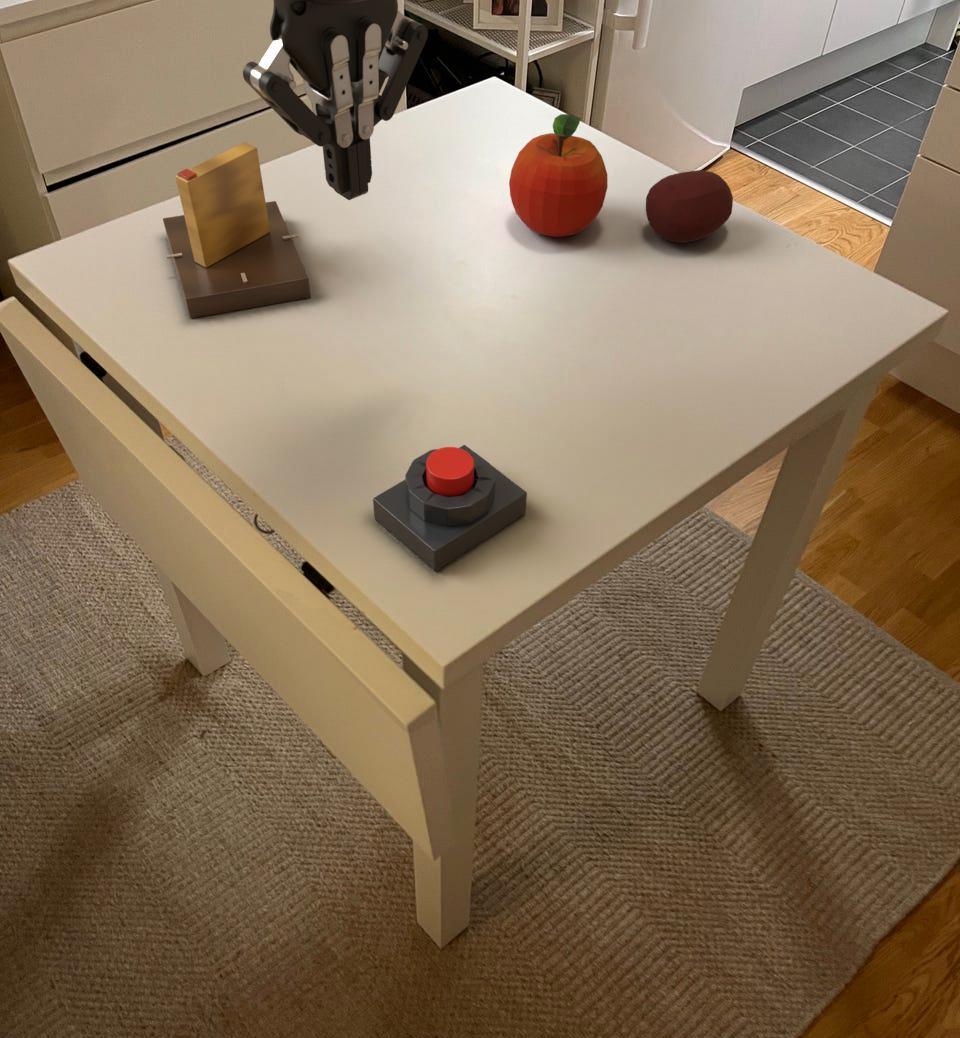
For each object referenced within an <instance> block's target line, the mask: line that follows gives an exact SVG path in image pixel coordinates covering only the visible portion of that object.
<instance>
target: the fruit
mask: <svg viewBox="0 0 960 1038" xmlns="http://www.w3.org/2000/svg"><path fill="white" fill-rule="evenodd" d="M580 122H581V117H579V116H576V115H574V114H573V113H560V114H559V115H557V116H556V117H554V120H553V123H552V130H553V132H549V133H545V134H544V133H543V134H540V135H538V136H535V137H532V138H531V139H530V140H529V141H528V142H527V143H526V144H525V145H524V146H523V148H521V150H519V152H518V153H517V155H516V158H515V160H514V162H513V164H512V168H511V170H510V176H509V182H508V186H509V195H510V200H511V203H512V206H513V210H514V212H515V214H516V215H517V217H518V218H519V219H520V220H521V222H522V223H523V224H524V225H525V226H526V227H527V228H528V229H530V230H531V231H533V232H535V233H538V234H540V235H543V236H547V237H554V238H560V237H567V236H571V235H575V234H578V233H580V232H582V231H583V230H585V229H586V228H587V227H588V226H590V224H592V222H593V221H595V219H596V218H597V217H598V216H599V214H600V212H601V211H602V208H603V207H604V204H605V203H604V202H605V199H606V196H607V190H608V183H609V182H608V171H607V168H606V163H605V161H604V159H603V156H602V154H601V153H600V151H599V149H598V148H597V147H596V145H595V144H593V142H591V140H588V139H586V138H583V137H580V136H575V135H574V133H575V132H576V131H577V129H578V127H579V125H580Z"/></svg>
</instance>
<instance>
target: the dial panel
mask: <svg viewBox="0 0 960 1038" xmlns="http://www.w3.org/2000/svg"><path fill="white" fill-rule="evenodd" d="M265 202H266V201H265ZM266 208H267V215H268V221H269V227H270V232H269V233H267V234H266V235H264V236H262V237H260V238H258V239H257V240H255V241H253V242H251V243H250V244H248V245H246V246H244V247H242V248H241V249H239V250H237V251H235V252H233V253H232V254H230V255H228V256H226V257H225V258H223V259H221V260H219V261H217V262H216V263H214V264H212V265H210V266H208V267H207V268H206V267H204V266H202V265H200V264H198V263H197V262H195V261H194V256H193V252H192V248H191V243H190V239H189V234H188V230H187V225H186V221H185V217H184V214H182V215H175V216H168V217H164V218H162V222H163V226H164V230H165V234H166V238H167V241H168V245H169V248H170V252H171V254H166V255H165V257H166V259H167V260H168V259H169V260H170V259H172V260H173V263H174V266H175V270H176V273H177V276H178V281H179V285H180V287H181V288H180V289H181V291H182V294H183V297H184V300H185V301H184V302H185V306H186V308H187V312H188V315H189V319H195V318H202V317H206V316H213V315H219V314H224V313H230V312H235V311H240V310H246V309H247V310H248V309H252V308H259V307H265V306H269V305H275V304H281V303H285V302H291V301H298V300H303V299H309V298H311V288H310V281H309V280H310V279H309V277H308V274H307V272H306V269H305V267H304V265H303V262H302V260H301V258H300V255H299V253H298V251H297V248H296V245H295V244H294V241H293V239H297V238H299V236H298V234H297V233H295V234H290V231H289V229H288V226H287V224H286V222H285V219H284V217H283V215H282V213H281V209H280V207H279V206H278V203H277V201H276V200H273V201H267V202H266Z"/></svg>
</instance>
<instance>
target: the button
mask: <svg viewBox="0 0 960 1038" xmlns="http://www.w3.org/2000/svg"><path fill="white" fill-rule="evenodd" d="M436 449H437V450H435V451H434V452H432V453H431V454H430V455H429V457H428V458H427V461H426V474H427V484H428V486H429V488H430V489H431V490H432V491H433V492H435V493H436V494H438V495H441V496H446V497H455V496H460V495H462V494H464V493H466V492H468V491H469V490H470V489H471V487H472V486H473V483H474V460H473V458H472V456H471V455H470V454H469V453H468V452H467V451H465V450H463V449H460V447H456V446H444V447H440V448H436Z"/></svg>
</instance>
